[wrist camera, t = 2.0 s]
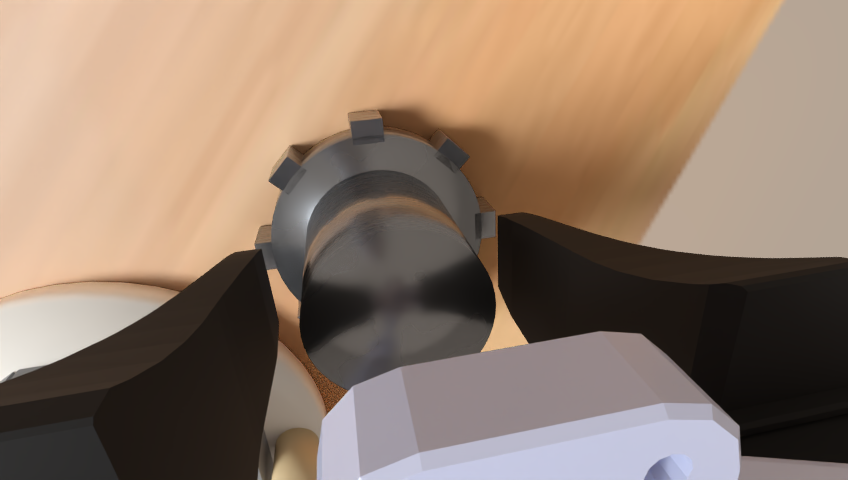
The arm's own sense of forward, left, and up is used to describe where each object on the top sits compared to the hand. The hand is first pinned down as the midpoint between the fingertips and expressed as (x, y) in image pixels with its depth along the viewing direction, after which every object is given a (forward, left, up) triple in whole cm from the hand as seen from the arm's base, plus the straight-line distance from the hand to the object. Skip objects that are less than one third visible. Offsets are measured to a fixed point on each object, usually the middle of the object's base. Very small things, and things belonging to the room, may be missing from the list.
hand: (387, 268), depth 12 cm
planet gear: (0, 0, -3) cm, 3 cm away
